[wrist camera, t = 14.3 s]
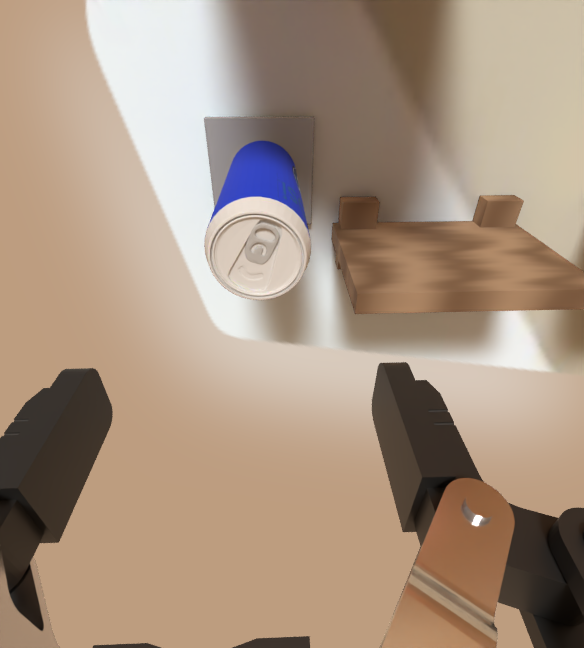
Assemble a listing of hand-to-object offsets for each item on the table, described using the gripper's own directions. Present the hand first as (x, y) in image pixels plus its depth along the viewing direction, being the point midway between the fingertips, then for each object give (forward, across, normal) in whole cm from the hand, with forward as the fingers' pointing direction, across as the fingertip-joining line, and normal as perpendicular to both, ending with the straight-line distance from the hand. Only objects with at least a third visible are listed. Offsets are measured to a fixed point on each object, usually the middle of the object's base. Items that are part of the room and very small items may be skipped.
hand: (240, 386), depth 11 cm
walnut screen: (+24, -14, +5) cm, 28 cm away
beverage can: (+23, 0, 0) cm, 23 cm away
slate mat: (+24, 0, 0) cm, 24 cm away
